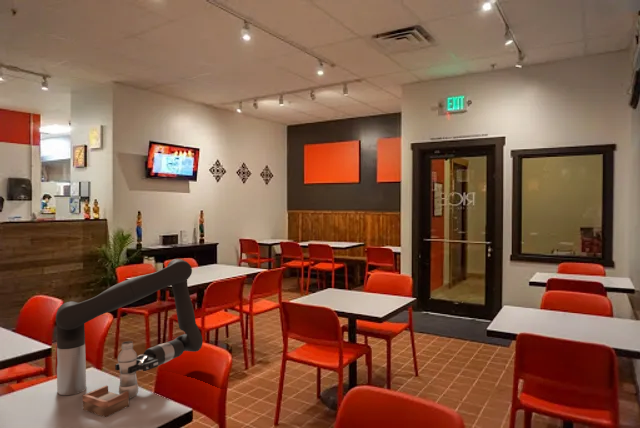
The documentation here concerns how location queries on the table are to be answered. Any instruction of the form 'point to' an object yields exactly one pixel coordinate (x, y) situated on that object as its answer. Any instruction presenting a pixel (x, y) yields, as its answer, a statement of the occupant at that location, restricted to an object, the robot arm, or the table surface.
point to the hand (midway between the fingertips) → (122, 369)
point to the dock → (105, 401)
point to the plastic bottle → (125, 361)
